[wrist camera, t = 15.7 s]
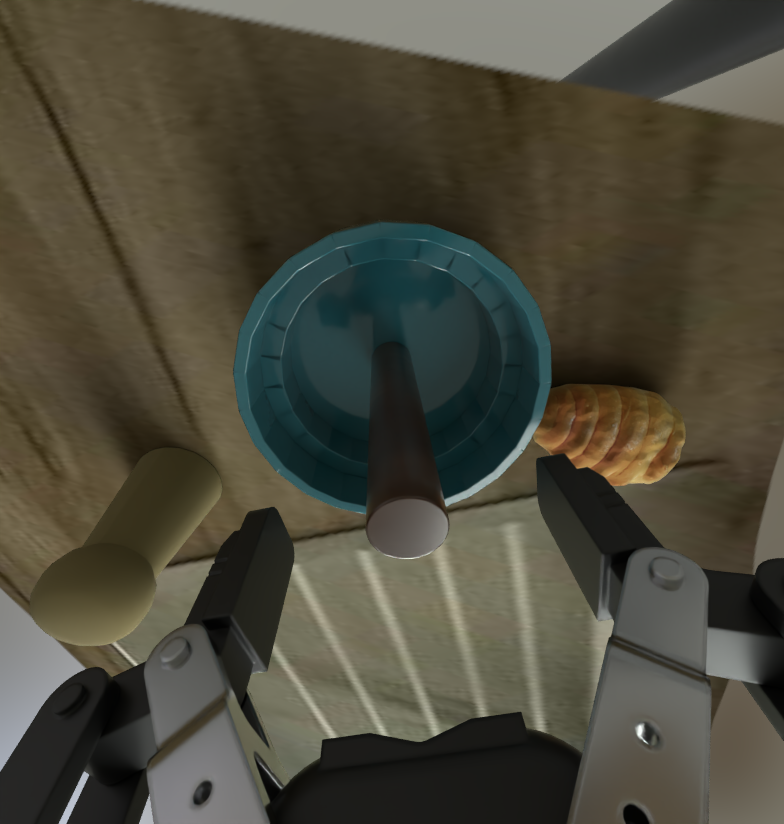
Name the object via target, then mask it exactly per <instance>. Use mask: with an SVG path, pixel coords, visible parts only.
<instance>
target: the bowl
mask: <svg viewBox="0 0 784 824" xmlns="http://www.w3.org/2000/svg"><path fill="white" fill-rule="evenodd" d="M387 342H397V343H400V344H402V345H403V346H405V347H406V348H407V350H408V351H409V353H410V356H411V360H412V364H413V368H414V372H415V377H416V381H417V385H418V390H419V394H420V398H421V402H422V407H423V411H424V415H425V420H426V424H427V428H428V432H429V437H430V441H431V445H432V450H433V454H434V458H435V462H436V467H437V471H438V475H439V480H440V484H441V488H442V492H443V497H444V501H445V505H446V506H448V505H451V504H453V503H456V502H458V501H460V500H463V499H465V498H468V497H470V496H472V495H474V494H475V493H477V492H478V491H480V490H481V489H482V488H484V487H485V486H487V485H488V484H490V483H491V482H493V481H494V480H496V479H497V478H499V476H501V475H502V474H503V473H504V472H505V471H506V470H507V468H508V467H509V466H510V465H511V464H512V463H513V462H514V461H515V460H516V459H517V458H518V457H519V456H520V455H521V454H522V452H523V451H524V450H525V448H526V447H527V445H528V443H529V441H530V440H531V438H532V436H533V434H534V432H535V431H536V429H537V427H538V425H539V424H540V422H541V420H542V418H543V414H544V410H545V406H546V403H547V399H548V395H549V391H550V387H551V382H552V379H551V345H550V340H549V337H548V334H547V331H546V327H545V324H544V321H543V318H542V315H541V312H540V309H539V306H538V304H537V302H536V301H535V300H534V298H533V297H532V295H531V294H530V293H529V291H528V290H527V288H526V287H525V285H524V284H523V283H522V281H521V280H520V278H519V277H518V276H517V274H516V273H515V271H514V270H512V268H511V267H509V266H508V265H507V264H505V263H504V262H503V261H501V260H500V259H499V258H497V257H496V256H495V255H494V254H492V253H491V252H490V251H488V250H487V249H486V248H484V247H483V246H482V245H480V244H479V243H478V242H476V241H474V240H471V239H469V238H466V237H463V236H461V235H458V234H455V233H452V232H450V231H447V230H444V229H441V228H439V227H436V226H433V225H430V224H426V223H421V222H417V221H400V220H382V219H380V220H374V221H370V222H366V223H362V224H358V225H354V226H349V227H345V228H342V229H339V230H337V231H335V232H333V233H331V234H329V235H327V236H326V237H324V238H322V239H320V240H319V241H317V242H315V243H314V244H312V245H310V246H308V247H307V248H305V249H303V250H302V251H300V252H298V253H297V254H295V255H293V256H291V257H290V258H289V259H287V261H286V262H285V263H284V264H283V265H282V266H281V267H280V268H279V269H278V270H277V271H276V272H275V274H274V275H273V276H272V277H271V278H270V279H269V280H268V281H267V282H266V283H265V284H264V285H263V287H262V288H261V289H260V290H259V291H258V293H257V294H256V296H255V298H254V300H253V302H252V304H251V307H250V309H249V311H248V313H247V315H246V317H245V319H244V321H243V323H242V325H241V328H240V330H239V334H238V340H237V347H236V354H235V361H234V368H233V375H234V382H235V389H236V396H237V402H238V409H239V412H240V415H241V417H242V419H243V421H244V423H245V426H246V428H247V430H248V432H249V434H250V437H251V439H252V441H253V443H254V444H255V446H256V447H257V448H258V450H259V451H260V452H261V453H262V455H263V456H264V457H265V458H266V459H267V461H268V462H269V463H270V464H271V466H272V467H273V468H274V469H275V471H277V472H278V473H279V474H280V475H281V476H283V477H284V478H285V479H287V480H288V481H289V482H291V483H292V484H293V485H295V486H296V487H297V488H299V489H300V490H301V491H302V492H304V493H305V494H307V495H309V496H312V497H314V498H316V499H318V500H320V501H323V502H325V503H327V504H329V505H331V506H334V507H337V508H340V509H345V510H349V511H354V512H358V513H363V514H366V500H367V472H368V445H369V417H370V390H371V362H372V355H373V353H374V351H375V350H376V348H377V347H379V346H380V345H382V344H384V343H387Z"/></svg>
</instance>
